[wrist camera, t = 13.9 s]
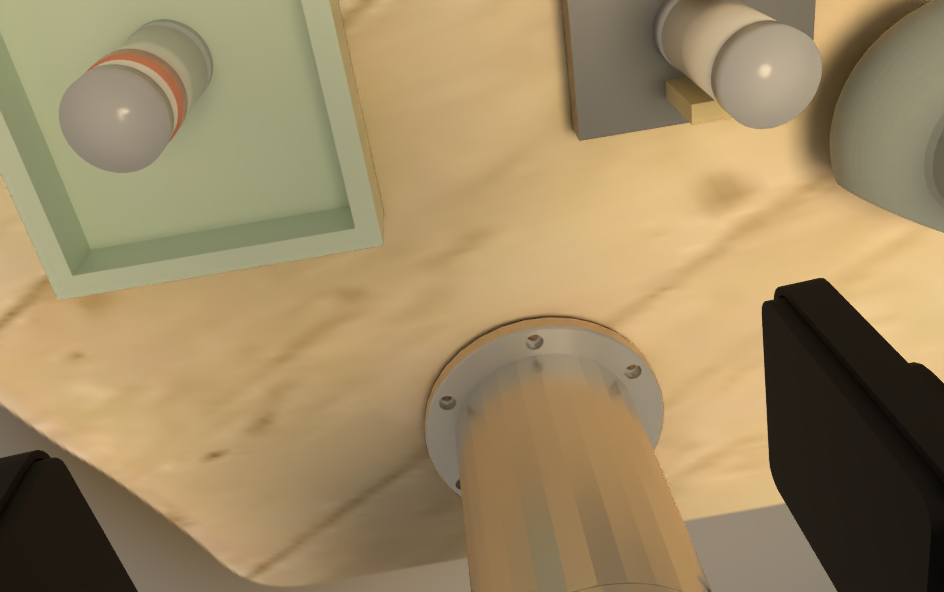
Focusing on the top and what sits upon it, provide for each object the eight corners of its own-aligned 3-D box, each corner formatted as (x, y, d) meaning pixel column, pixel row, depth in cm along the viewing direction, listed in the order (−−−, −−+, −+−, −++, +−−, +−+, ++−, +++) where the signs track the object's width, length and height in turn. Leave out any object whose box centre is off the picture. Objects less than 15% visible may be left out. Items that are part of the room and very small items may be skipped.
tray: (384, 214, 39) (383, 245, 36) (82, 264, 39) (58, 300, 36) (298, -183, 31) (288, -184, 28) (-81, -120, 31) (-130, -114, 28)
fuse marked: (224, 95, 35) (182, 164, 28) (143, 109, 35) (81, 181, 28) (199, 11, 33) (147, 63, 26) (114, 26, 33) (40, 81, 26)
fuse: (732, 61, 35) (817, 120, 28) (653, 73, 35) (720, 135, 28) (734, -22, 33) (826, 19, 26) (652, -10, 33) (722, 35, 26)
